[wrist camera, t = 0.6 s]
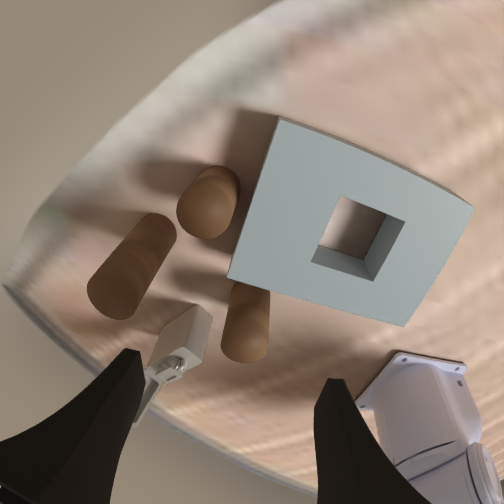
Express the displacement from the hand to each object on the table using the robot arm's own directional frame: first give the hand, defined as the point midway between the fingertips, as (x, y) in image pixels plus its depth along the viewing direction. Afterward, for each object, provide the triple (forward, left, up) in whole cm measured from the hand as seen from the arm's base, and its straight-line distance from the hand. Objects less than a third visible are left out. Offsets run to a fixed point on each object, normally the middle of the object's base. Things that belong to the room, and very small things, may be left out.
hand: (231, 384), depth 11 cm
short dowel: (+3, -4, -10) cm, 11 cm away
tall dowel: (+6, 0, -10) cm, 12 cm away
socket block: (-5, -4, -10) cm, 12 cm away
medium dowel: (-1, +3, -10) cm, 10 cm away
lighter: (+4, +8, -10) cm, 14 cm away
